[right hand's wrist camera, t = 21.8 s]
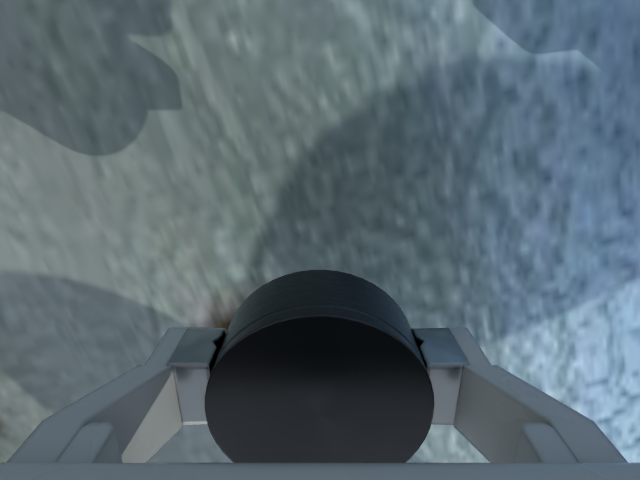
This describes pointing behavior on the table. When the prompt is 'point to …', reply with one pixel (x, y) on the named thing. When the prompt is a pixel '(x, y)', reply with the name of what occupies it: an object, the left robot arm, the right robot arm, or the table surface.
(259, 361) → the lid
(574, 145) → the table surface
